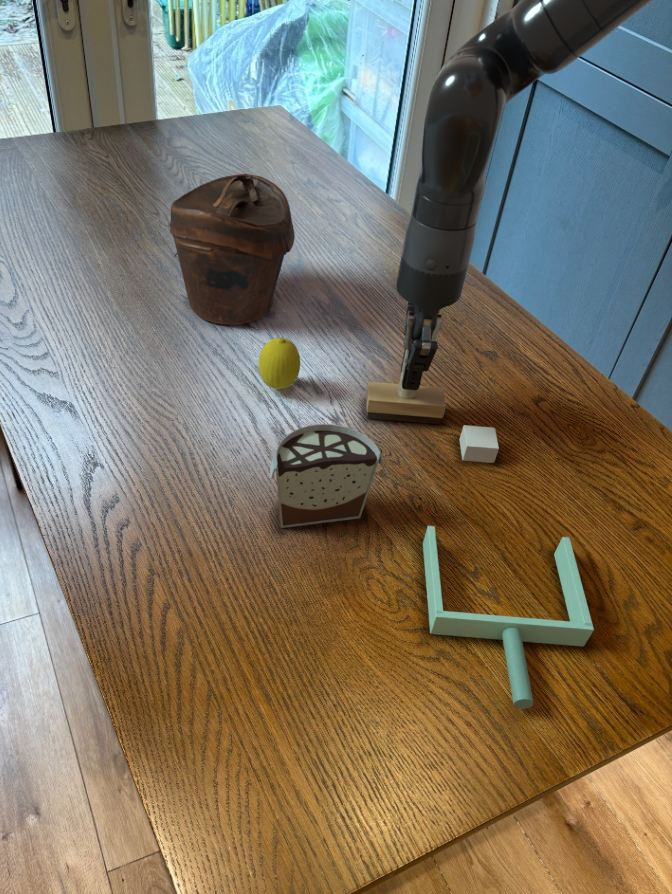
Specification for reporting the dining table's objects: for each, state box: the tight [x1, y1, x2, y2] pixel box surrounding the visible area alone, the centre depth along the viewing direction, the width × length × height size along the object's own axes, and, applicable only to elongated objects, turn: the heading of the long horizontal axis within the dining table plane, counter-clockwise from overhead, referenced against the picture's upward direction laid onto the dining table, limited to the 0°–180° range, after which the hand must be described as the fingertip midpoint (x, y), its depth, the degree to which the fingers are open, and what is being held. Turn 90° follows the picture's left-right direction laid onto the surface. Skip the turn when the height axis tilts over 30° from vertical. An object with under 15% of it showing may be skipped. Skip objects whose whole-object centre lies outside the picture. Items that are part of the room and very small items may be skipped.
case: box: [169, 173, 296, 326], centre depth 110 cm, size 18×20×18 cm
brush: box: [365, 349, 447, 425], centre depth 96 cm, size 4×10×10 cm, turn 86°
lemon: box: [258, 337, 301, 390], centre depth 99 cm, size 6×6×8 cm
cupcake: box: [269, 423, 384, 529], centre depth 84 cm, size 12×6×10 cm, turn 102°
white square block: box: [459, 424, 500, 464], centre depth 95 cm, size 4×4×2 cm
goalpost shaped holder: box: [422, 525, 595, 710], centre depth 76 cm, size 20×16×3 cm
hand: (409, 380), depth 96 cm, fingers closed on brush, 2 cm apart
